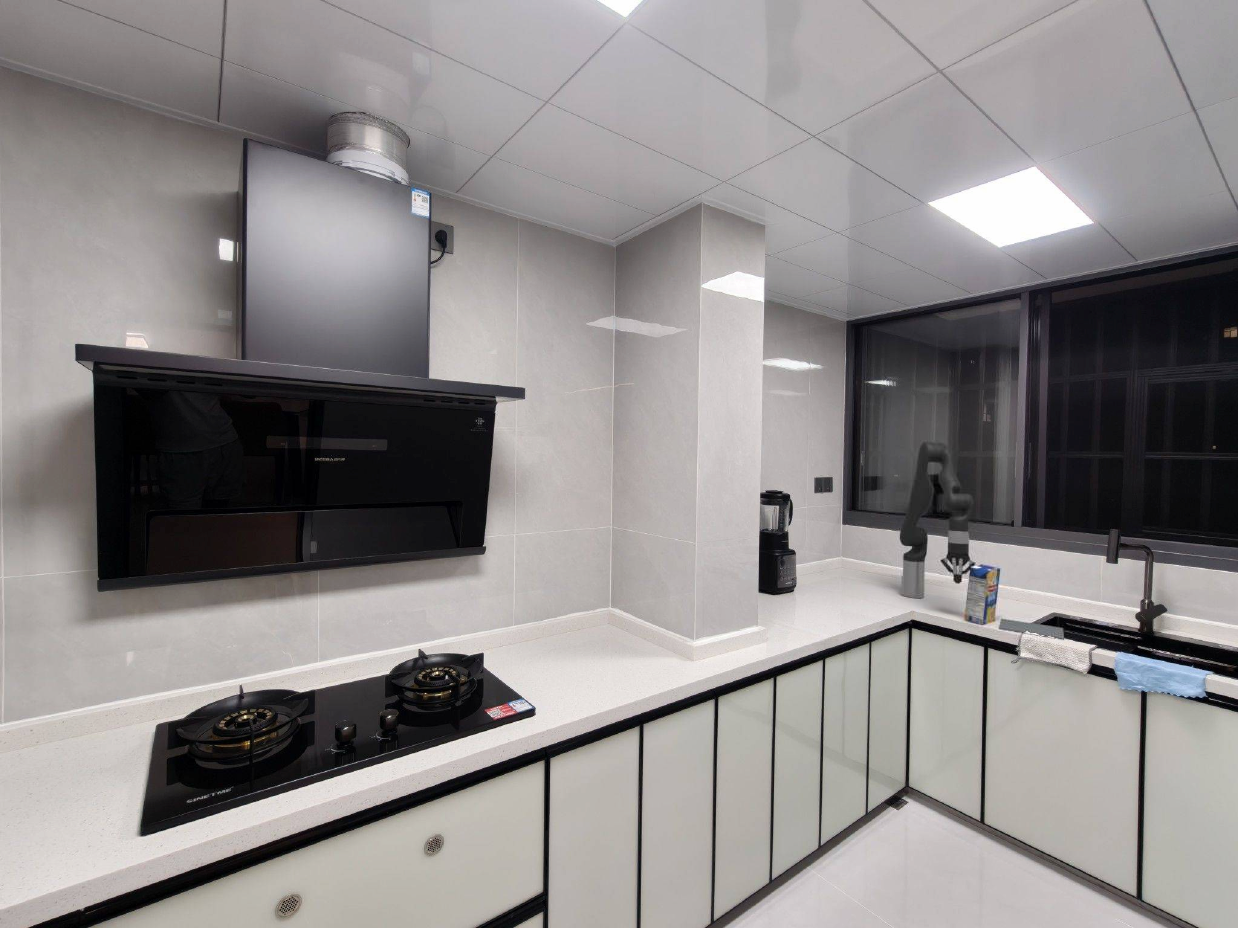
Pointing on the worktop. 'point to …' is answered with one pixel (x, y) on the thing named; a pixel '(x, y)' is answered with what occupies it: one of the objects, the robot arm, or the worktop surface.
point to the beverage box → (982, 594)
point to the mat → (1031, 628)
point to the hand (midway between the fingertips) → (957, 583)
